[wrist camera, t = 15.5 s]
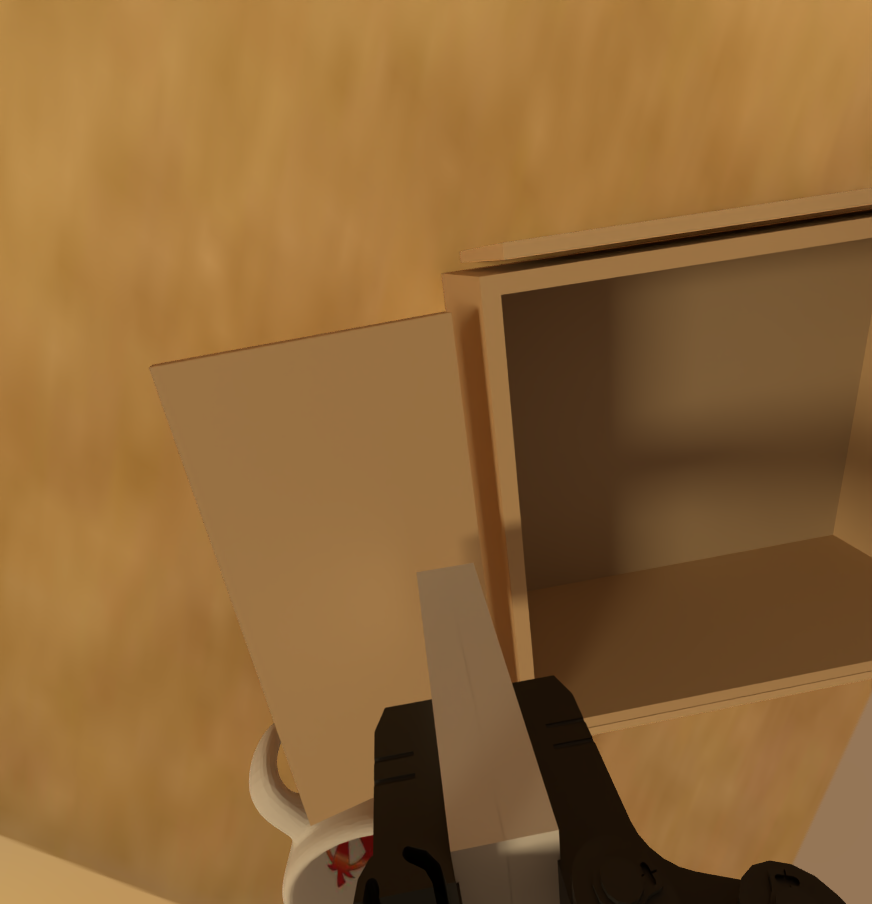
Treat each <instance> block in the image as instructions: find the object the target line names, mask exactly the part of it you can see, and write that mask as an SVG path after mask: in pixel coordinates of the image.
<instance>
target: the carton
mask: <svg viewBox="0 0 872 904" xmlns="http://www.w3.org/2000/svg"><path fill="white" fill-rule="evenodd" d="M865 205H872V188H866V189H860V190H853V191H846V192H839V193H833V194H826V195H819V196H813V197H806V198H799V199H793V200H786V201H779V202H772V203H766V204H759V205H752V206H746V207H739V208H732V209H725V210H719V211H712V212H705V213H699V214H692V215H685V216H678V217H672V218H665V219H658V220H652V221H645V222H638V223H632V224H625V225H618V226H611V227H605V228H598V229H591V230H585V231H578V232H571V233H564V234H558V235H551V236H544V237H538V238H531V239H524V240H517V241H511V242H504V243H499V244H494V245H489V246H484V247H479V248H474V249H469V250H464V251H460V259H461V263H464V262H480V261H496V260H507V259H514V258H521V257H527V256H534V255H541V254H547V253H554V252H560V251H567V250H574V249H580V248H587V247H594V246H600V245H607V244H613V243H620V242H627V241H633V240H640V239H647V238H653V237H660V236H666V235H673V234H680V233H686V232H693V231H700V230H706V229H713V228H720V227H726V226H733V225H739V224H746V223H753V222H759V221H766V220H773V219H779V218H786V217H792V216H799V215H806V214H812V213H819V212H826V211H832V210H839V209H845V208H852V207H859V206H865ZM441 274H442V282H443V290H444V298H445V306H446V312H451V315H452V323H453V331H454V339H455V347H456V355H457V363H458V371H459V379H460V387H461V395H462V404H463V412H464V420H465V428H466V436H467V444H468V452H469V460H470V468H471V476H472V484H473V492H474V500H475V508H476V516H477V524H478V532H479V541H480V549H481V557H482V565H483V573H484V581H485V589H486V597H487V605H488V610H489V613H490V616H491V619H492V622H493V626H494V629H495V632H496V635H497V638H498V641H499V644H500V647H501V651H502V654H503V657H504V660H505V663H506V666H507V669H508V673H509V676H510V679H511V682H512V683H514V682H519V681H525V680H530V679H536V678H541V677H547V676H552V675H554V676H555V677H556V678H557V679H558V680H559V681H560V682H561V683H562V684H563V685H564V686H565V687H566V688H567V689H568V690H569V691H570V692H571V693H572V694H573V696H574V698H575V700H576V702H577V705H578V707H579V709H580V711H581V713H582V716H583V719H584V722H586V724H587V727H588V729H589V731H590V733H591V735H596V734H601V733H606V732H611V731H616V730H621V729H626V728H631V727H636V726H641V725H646V724H651V723H655V722H660V721H665V720H670V719H675V718H680V717H685V716H690V715H695V714H700V713H705V712H710V711H715V710H720V709H725V708H730V707H735V706H740V705H744V704H749V703H754V702H759V701H764V700H769V699H774V698H779V697H784V696H789V695H794V694H799V693H804V692H809V691H814V690H819V689H824V688H829V687H833V686H838V685H843V684H848V683H853V682H858V681H863V680H868V679H872V208H871V209H864V210H858V211H851V212H845V213H838V214H831V215H825V216H818V217H812V218H805V219H798V220H792V221H785V222H779V223H772V224H765V225H759V226H752V227H745V228H739V229H732V230H726V231H719V232H712V233H706V234H699V235H693V236H686V237H679V238H673V239H666V240H660V241H653V242H646V243H640V244H633V245H626V246H620V247H613V248H607V249H600V250H593V251H587V252H580V253H574V254H567V255H560V256H554V257H547V258H541V259H534V260H527V261H521V262H514V263H508V264H501V265H494V266H488V267H481V268H474V269H468V270H461V271H455V272H448V273H441Z"/></svg>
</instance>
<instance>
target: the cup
mask: <svg viewBox="0 0 872 904" xmlns="http://www.w3.org/2000/svg"><path fill="white" fill-rule="evenodd" d="M280 744H281V741H280V738H279V735H278V732H277V729H276V727H275V724H274V723H273V724H272V725H271V726H270V727H269V728H268V730H267V731H266V732H265V733H264V735H263V736H262V738H261V740H260V741H259V743H258V745H257V748H256V750H255V752H254V755H253V759H252V762H251V767H250V774H249V788H250V794H251V798H252V801H253V803H254V805H255V807H256V808H257V810H258V811H259V813H260V814H261V815H262V816H263V817H264V818H265V819H266V820H267V821H268V822H269V823H271V824H272V825H273V826H275V827H276V828H278V829H279V830H281V831H282V832H284V833H285V834H287V835H288V836H290V837H291V839H292V840H293V842H292V846H291V850H290V854H289V858H288V862H287V866H286V870H285V875H284V880H283V901H284V904H353V901H354V896H355V891H356V886H357V881H358V878H359V876H360V874H361V873H362V871H363V869H364V867H365V865H366V864H367V862H368V860H369V859H370V858H371V857H372V856H373V811H374V798H371V799H369V800H367V801H365V802H363V803H360V804H358V805H356V806H354V807H352V808H349V809H347V810H345V811H343V812H341V813H338V814H336V815H334V816H332V817H330V818H327V819H325V820H323V821H321V822H319V823H316V824H314V825H312V826H310V823H309V820H308V817H307V814H306V812H305V809H304V806H303V803H302V800H301V797H300V795H299V793H295V792H293V791H291V790H290V789H288V788H287V787H286V786H285V785H284V784H283V782H282V780H281V779H280V776H279V773H278V768H277V755H278V750H279V746H280Z"/></svg>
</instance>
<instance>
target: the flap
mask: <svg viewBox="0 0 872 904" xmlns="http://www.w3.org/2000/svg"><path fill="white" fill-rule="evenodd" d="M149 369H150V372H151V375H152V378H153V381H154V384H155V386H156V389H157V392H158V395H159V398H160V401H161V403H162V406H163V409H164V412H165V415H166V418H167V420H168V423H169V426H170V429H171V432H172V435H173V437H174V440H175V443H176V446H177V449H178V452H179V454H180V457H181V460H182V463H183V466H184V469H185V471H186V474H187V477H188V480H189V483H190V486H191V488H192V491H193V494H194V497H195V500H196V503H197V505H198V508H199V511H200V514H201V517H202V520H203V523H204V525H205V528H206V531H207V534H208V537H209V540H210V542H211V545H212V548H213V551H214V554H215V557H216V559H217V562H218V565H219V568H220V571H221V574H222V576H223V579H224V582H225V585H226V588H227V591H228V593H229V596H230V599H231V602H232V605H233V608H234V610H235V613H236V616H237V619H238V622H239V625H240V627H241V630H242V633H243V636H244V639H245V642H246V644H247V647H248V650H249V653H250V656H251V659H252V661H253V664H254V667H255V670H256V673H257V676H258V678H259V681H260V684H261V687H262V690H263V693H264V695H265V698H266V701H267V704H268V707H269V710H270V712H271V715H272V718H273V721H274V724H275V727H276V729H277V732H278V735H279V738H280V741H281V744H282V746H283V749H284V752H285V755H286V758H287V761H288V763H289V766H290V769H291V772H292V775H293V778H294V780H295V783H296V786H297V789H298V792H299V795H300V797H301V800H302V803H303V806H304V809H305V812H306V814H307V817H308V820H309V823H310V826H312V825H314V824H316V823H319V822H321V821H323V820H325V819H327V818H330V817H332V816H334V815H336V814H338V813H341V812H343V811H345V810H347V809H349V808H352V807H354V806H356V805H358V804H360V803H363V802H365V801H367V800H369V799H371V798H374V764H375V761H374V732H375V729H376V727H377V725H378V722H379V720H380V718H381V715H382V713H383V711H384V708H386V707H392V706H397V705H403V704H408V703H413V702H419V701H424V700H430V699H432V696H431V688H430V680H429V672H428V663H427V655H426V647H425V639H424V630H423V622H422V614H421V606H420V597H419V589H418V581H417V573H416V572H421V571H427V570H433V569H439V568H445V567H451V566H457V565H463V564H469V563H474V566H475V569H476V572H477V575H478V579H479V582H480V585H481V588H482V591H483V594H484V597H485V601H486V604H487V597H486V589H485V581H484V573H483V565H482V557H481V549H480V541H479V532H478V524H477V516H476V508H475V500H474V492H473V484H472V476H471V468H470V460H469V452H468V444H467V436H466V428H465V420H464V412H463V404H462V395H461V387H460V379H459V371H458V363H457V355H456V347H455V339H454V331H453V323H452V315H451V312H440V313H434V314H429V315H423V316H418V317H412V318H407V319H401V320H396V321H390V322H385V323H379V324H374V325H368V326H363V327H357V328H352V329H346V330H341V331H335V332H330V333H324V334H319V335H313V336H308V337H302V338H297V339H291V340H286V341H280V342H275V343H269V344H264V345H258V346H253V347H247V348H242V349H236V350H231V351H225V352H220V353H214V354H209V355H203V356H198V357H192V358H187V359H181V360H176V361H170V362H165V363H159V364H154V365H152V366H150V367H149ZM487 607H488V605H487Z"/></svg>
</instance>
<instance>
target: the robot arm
mask: <svg viewBox="0 0 872 904" xmlns="http://www.w3.org/2000/svg"><path fill="white" fill-rule="evenodd" d="M416 573H417V581H418V589H419V597H420V606H421V614H422V622H423V630H424V639H425V647H426V655H427V663H428V672H429V680H430V688H431V696H432V699H430V700H424V701H419V702H413V703H408V704H403V705H397V706H392V707H386V708H384V711H383V713H382V715H381V718H380V720H379V722H378V725H377V727H376V729H375V732H374V761H375V764H374V811H373V856H372V857H371V858H370V859H369V860H368V862H367V864H366V865H365V867H364V869H363V871H362V873H361V874H360V876H359V878H358V881H357V886H356V891H355V896H354V901H353V904H846V903H845V902H844V901H843V900H842V899H841V898H840V897H839V896H838V895H837V894H836V893H834V892H833V891H832V890H831V889H830V888H829V887H827V886H826V885H825V884H824V883H823V882H821V881H820V880H819V879H818V878H817V877H815V876H813V875H812V874H810V873H808V872H805V871H803V870H802V869H799V868H798V867H796V866H794V865H792V864H786V863H781V862H775V861H766V862H763V863H759V864H755V865H752V866H751V867H750V868H749V870H748V871H747V872H746V873H745V874H744V875H743V877H742V878H741V880H739V879H733V878H728V877H722V876H717V875H711V874H706V873H700V872H695V871H692V870H688V869H685V868H682V867H678V866H677V865H675V864H673V863H671V862H669V861H667V860H665V859H664V858H662V857H661V856H660V855H659V854H657V853H656V852H655V851H654V850H652V849H651V848H650V847H649V846H648V845H647V844H646V843H645V842H644V840H643V839H642V838H641V837H640V836H639V835H638V833H637V831H636V830H635V828H634V826H633V824H632V823H631V821H630V819H629V817H628V815H627V812H626V810H625V808H624V806H623V804H622V801H621V799H620V797H619V795H618V793H617V790H616V788H615V786H614V784H613V782H612V779H611V777H610V775H609V773H608V771H607V768H606V766H605V764H604V762H603V760H602V757H601V755H600V753H599V751H598V749H597V746H596V744H595V742H593V739H592V735H591V733H590V731H589V729H588V727H587V724H586V722H584V719H583V716H582V713H581V711H580V709H579V707H578V705H577V702H576V700H575V698H574V696H573V694H572V693H571V692H570V691H569V690H568V689H567V688H566V687H565V686H564V685H563V684H562V683H561V682H560V681H559V680H558V679H557V678H556V677H555V676H554V675H552V676H547V677H541V678H536V679H530V680H525V681H519V682H514V683H512V682H511V679H510V676H509V673H508V669H507V666H506V663H505V660H504V657H503V654H502V651H501V647H500V644H499V641H498V638H497V635H496V632H495V629H494V626H493V622H492V619H491V616H490V613H489V610H488V607H487V604H486V601H485V597H484V594H483V591H482V588H481V585H480V582H479V579H478V575H477V572H476V569H475V566H474V563H469V564H463V565H457V566H451V567H445V568H439V569H433V570H427V571H421V572H416Z"/></svg>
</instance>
